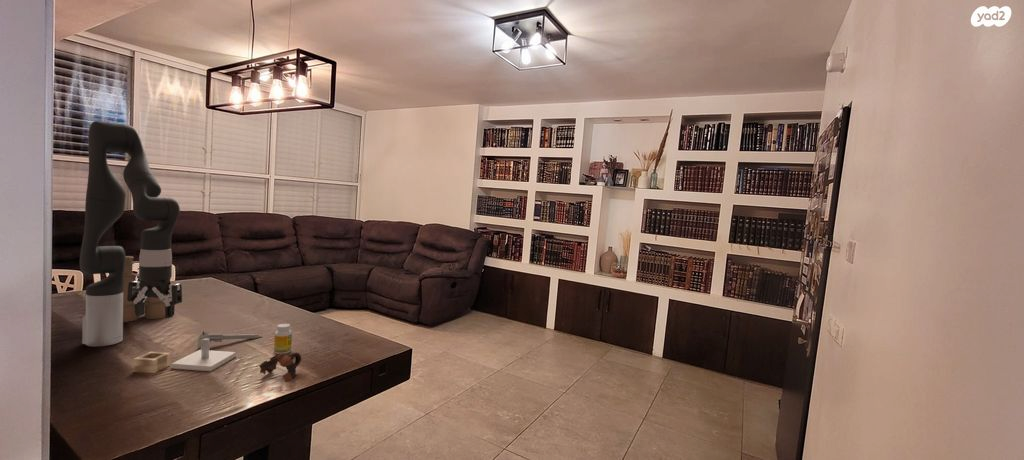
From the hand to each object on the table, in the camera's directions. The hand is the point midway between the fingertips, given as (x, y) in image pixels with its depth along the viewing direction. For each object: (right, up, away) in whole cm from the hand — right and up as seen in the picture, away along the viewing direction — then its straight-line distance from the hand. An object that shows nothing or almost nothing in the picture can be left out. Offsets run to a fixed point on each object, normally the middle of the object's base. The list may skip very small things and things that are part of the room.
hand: (154, 316), depth 127 cm
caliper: (+6, -15, +26) cm, 31 cm away
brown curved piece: (+37, -19, +3) cm, 42 cm away
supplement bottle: (+27, -17, +22) cm, 39 cm away
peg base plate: (+9, -16, +8) cm, 21 cm away
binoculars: (-43, -10, +45) cm, 63 cm away
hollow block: (-2, -16, +1) cm, 16 cm away
